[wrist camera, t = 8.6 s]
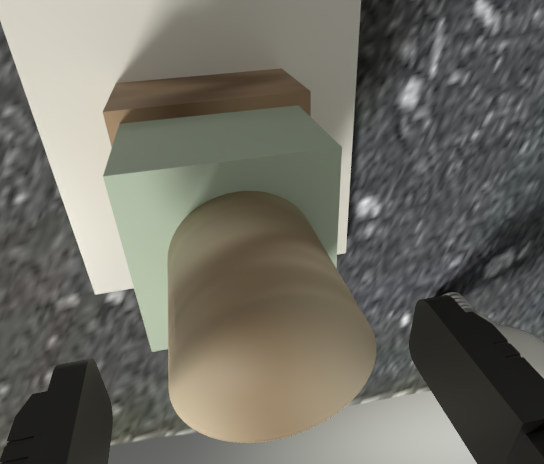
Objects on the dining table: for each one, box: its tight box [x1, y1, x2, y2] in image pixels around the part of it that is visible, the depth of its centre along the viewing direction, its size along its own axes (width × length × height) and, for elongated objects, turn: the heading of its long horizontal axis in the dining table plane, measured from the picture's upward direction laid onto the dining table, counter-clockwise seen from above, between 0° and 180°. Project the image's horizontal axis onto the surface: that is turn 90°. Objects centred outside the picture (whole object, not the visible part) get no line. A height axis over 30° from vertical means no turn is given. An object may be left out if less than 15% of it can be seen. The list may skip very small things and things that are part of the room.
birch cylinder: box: [167, 191, 376, 443], centre depth 12 cm, size 5×5×5 cm
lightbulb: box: [442, 292, 544, 378], centre depth 29 cm, size 6×6×11 cm
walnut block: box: [103, 68, 311, 147], centre depth 20 cm, size 8×8×5 cm
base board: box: [0, 0, 361, 295], centre depth 23 cm, size 16×16×1 cm
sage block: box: [103, 105, 342, 352], centre depth 16 cm, size 7×7×5 cm
